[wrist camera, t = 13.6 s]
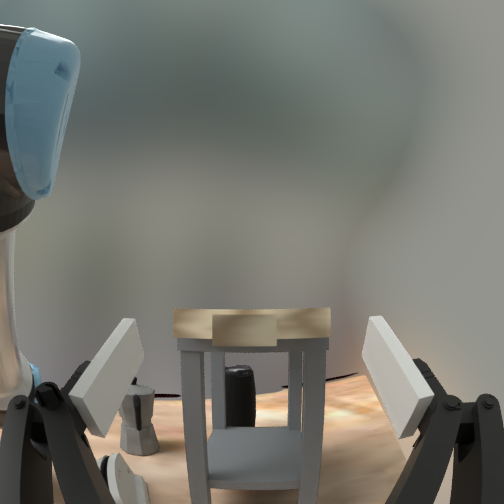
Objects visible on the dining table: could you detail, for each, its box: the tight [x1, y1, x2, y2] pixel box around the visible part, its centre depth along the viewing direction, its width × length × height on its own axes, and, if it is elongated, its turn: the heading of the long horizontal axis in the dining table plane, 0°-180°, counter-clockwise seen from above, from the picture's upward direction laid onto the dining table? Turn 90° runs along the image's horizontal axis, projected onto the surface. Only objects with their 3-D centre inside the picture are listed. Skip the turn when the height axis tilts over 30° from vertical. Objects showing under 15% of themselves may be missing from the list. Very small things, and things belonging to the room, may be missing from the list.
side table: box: [177, 337, 329, 504], centre depth 41 cm, size 18×24×30 cm
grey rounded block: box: [97, 453, 150, 504], centre depth 28 cm, size 17×5×10 cm, turn 23°
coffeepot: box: [118, 377, 159, 456], centre depth 52 cm, size 15×9×18 cm, turn 26°
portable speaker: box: [225, 365, 256, 427], centre depth 64 cm, size 9×9×20 cm
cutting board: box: [173, 308, 331, 346], centre depth 33 cm, size 16×31×3 cm, turn 178°
